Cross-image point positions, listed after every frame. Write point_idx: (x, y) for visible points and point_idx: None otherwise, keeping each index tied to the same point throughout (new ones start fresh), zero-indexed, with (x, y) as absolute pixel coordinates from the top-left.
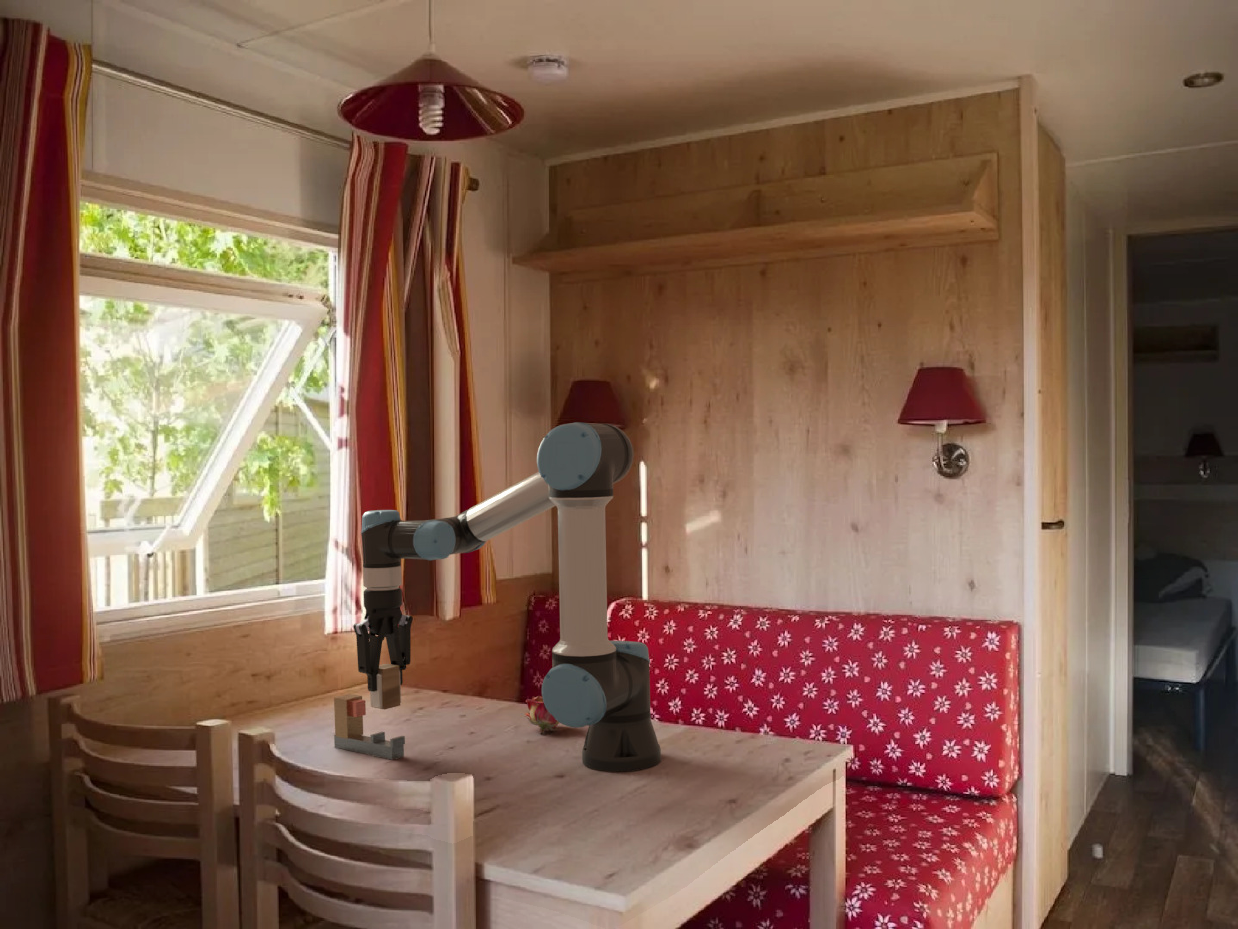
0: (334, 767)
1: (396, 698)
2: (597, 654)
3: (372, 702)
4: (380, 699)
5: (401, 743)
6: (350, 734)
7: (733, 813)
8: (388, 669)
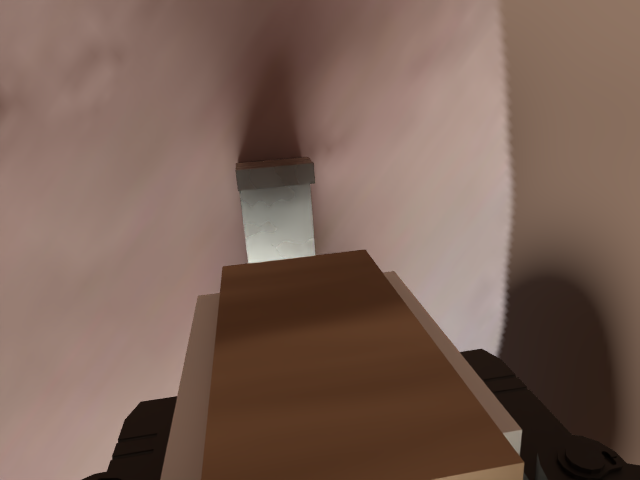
0: (482, 249)
1: (260, 284)
2: None
3: None
4: (405, 296)
5: (257, 163)
6: None
7: None
8: (421, 463)
